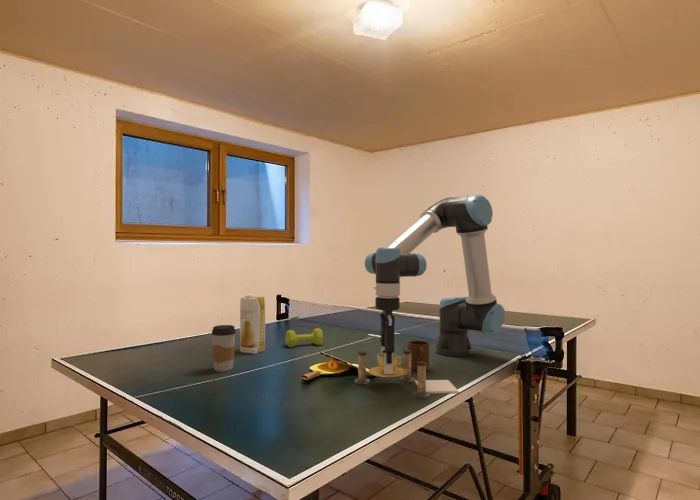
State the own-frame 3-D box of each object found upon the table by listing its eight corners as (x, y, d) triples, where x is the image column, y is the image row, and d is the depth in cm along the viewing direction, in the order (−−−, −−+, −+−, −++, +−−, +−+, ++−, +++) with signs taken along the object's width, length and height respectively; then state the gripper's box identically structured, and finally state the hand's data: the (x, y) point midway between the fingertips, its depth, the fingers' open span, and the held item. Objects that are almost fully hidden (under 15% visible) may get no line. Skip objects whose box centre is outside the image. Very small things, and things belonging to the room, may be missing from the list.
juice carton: (237, 352, 176) (237, 294, 176) (248, 348, 183) (249, 292, 183) (256, 354, 172) (256, 295, 172) (267, 350, 180) (267, 293, 180)
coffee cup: (240, 367, 154) (240, 325, 154) (226, 373, 146) (226, 329, 146) (220, 365, 157) (221, 324, 157) (206, 371, 149) (206, 328, 149)
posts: (417, 377, 143) (418, 349, 143) (431, 398, 123) (432, 364, 123) (353, 378, 142) (353, 349, 142) (357, 398, 122) (357, 365, 122)
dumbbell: (319, 342, 197) (319, 327, 197) (324, 346, 189) (324, 330, 189) (284, 345, 191) (284, 329, 191) (288, 349, 183) (288, 332, 183)
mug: (433, 375, 146) (434, 347, 146) (411, 375, 146) (411, 347, 146) (426, 365, 158) (426, 340, 158) (406, 365, 158) (406, 340, 158)
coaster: (448, 381, 139) (448, 379, 139) (458, 393, 128) (458, 391, 128) (414, 382, 138) (414, 380, 138) (422, 393, 127) (422, 391, 127)
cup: (381, 380, 126) (381, 362, 126) (361, 370, 136) (361, 353, 136) (414, 375, 131) (414, 357, 131) (393, 365, 142) (393, 349, 142)
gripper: (372, 293, 143) (371, 362, 143) (379, 300, 124) (378, 379, 124) (394, 293, 144) (394, 362, 143) (404, 300, 124) (404, 379, 124)
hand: (386, 370), depth 134 cm, fingers closed on cup, 6 cm apart
